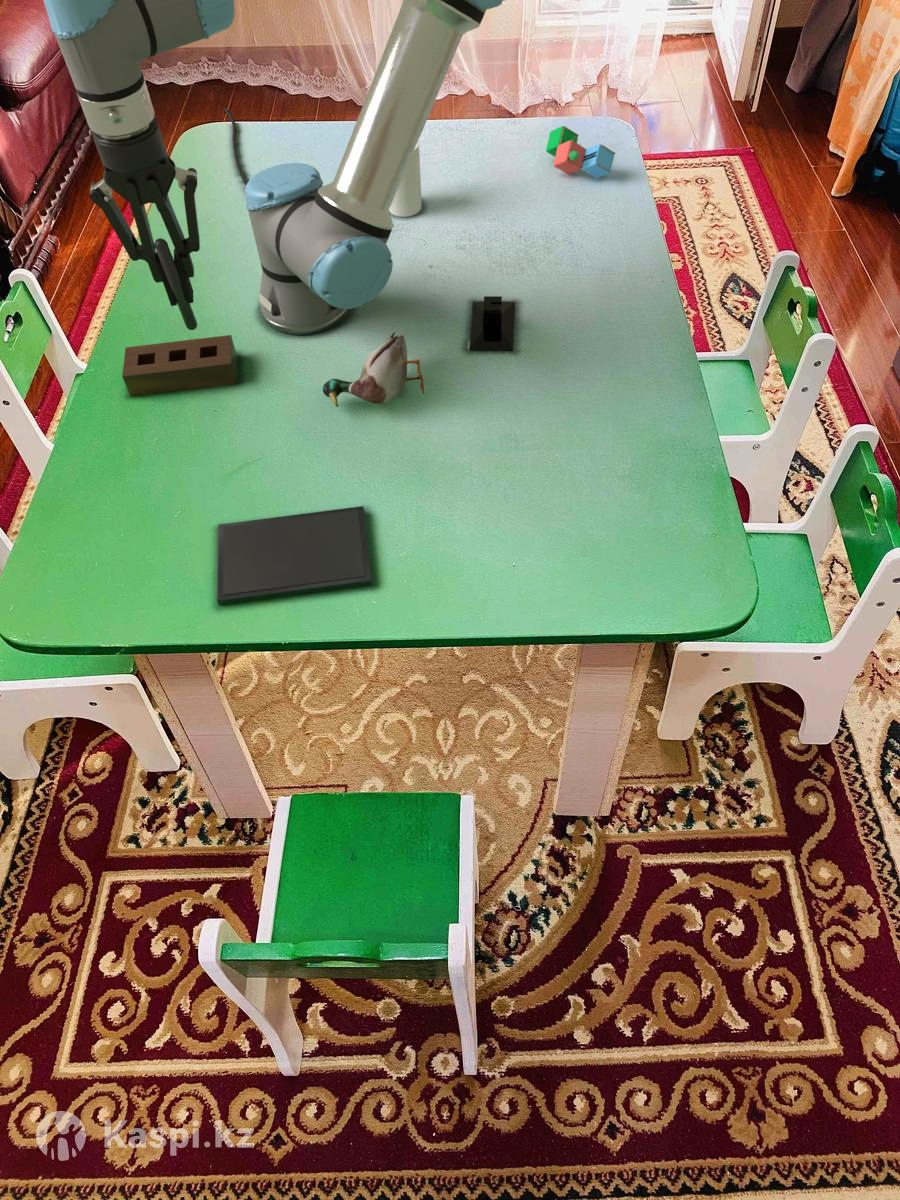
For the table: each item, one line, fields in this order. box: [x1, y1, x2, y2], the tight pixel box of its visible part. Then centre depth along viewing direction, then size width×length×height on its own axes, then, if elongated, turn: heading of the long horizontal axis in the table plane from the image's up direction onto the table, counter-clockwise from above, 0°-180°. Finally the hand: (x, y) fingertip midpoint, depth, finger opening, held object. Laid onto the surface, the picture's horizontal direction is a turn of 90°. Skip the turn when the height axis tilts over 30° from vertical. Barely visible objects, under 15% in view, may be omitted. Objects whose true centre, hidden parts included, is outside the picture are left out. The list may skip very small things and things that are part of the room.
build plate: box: [467, 295, 516, 353], centre depth 148 cm, size 12×7×5 cm, turn 176°
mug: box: [389, 140, 423, 218], centre depth 166 cm, size 10×7×12 cm, turn 109°
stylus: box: [154, 237, 198, 331], centre depth 122 cm, size 2×2×16 cm
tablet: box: [216, 505, 373, 606], centre depth 123 cm, size 13×20×1 cm, turn 98°
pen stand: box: [121, 334, 238, 397], centre depth 144 cm, size 7×17×4 cm, turn 98°
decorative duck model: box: [322, 331, 425, 408], centre depth 140 cm, size 15×8×15 cm
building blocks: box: [545, 125, 617, 179], centre depth 174 cm, size 8×8×12 cm
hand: (182, 298), depth 125 cm, fingers closed on stylus, 1 cm apart
